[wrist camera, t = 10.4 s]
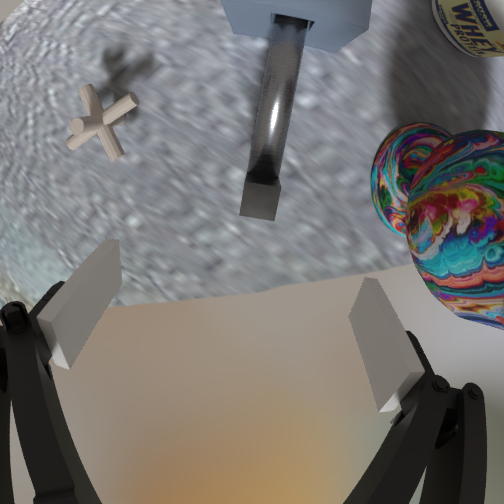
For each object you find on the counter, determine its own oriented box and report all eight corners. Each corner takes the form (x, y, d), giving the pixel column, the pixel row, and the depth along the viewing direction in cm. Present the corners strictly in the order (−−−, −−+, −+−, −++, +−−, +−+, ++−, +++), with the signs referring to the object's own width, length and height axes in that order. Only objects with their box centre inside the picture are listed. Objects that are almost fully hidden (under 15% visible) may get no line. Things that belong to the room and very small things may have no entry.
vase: (363, 110, 30) (592, 166, 4) (473, 124, 29) (646, 197, 3) (360, 245, 39) (458, 444, 12) (460, 239, 38) (577, 372, 11)
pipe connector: (78, 109, 31) (31, 115, 22) (136, 67, 28) (95, 58, 20) (107, 169, 35) (66, 190, 26) (167, 132, 33) (134, 143, 24)
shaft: (244, 189, 32) (239, 215, 25) (280, -5, 21) (285, -36, 14) (271, 194, 32) (274, 221, 25) (308, 1, 21) (321, -29, 14)
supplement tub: (415, 11, 23) (492, -21, 8) (445, -26, 18) (511, -56, 3) (473, 74, 25) (559, 79, 10) (497, 32, 20) (571, 28, 6)
